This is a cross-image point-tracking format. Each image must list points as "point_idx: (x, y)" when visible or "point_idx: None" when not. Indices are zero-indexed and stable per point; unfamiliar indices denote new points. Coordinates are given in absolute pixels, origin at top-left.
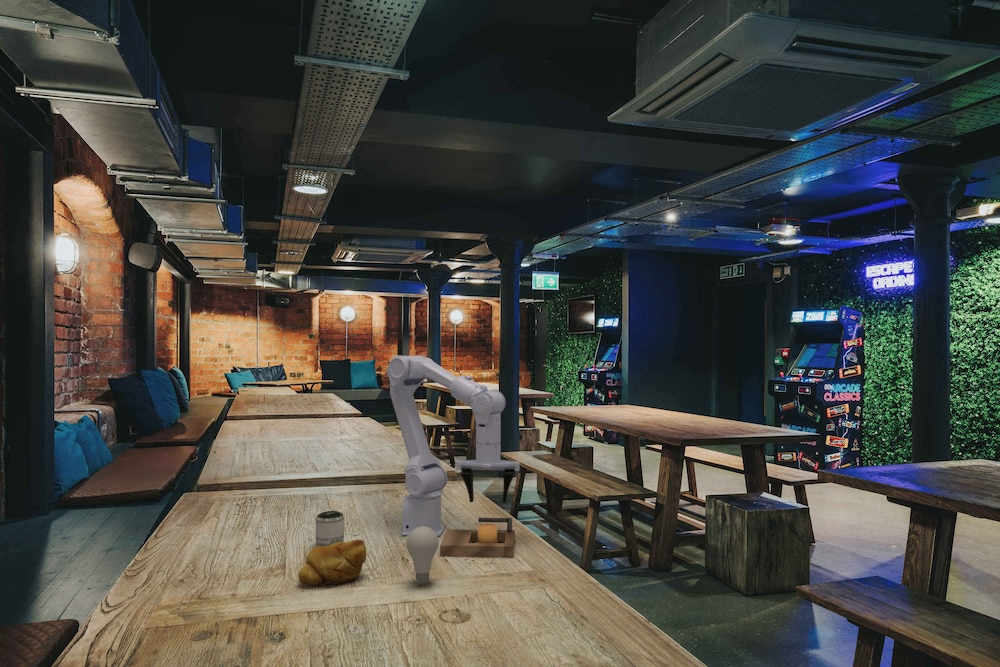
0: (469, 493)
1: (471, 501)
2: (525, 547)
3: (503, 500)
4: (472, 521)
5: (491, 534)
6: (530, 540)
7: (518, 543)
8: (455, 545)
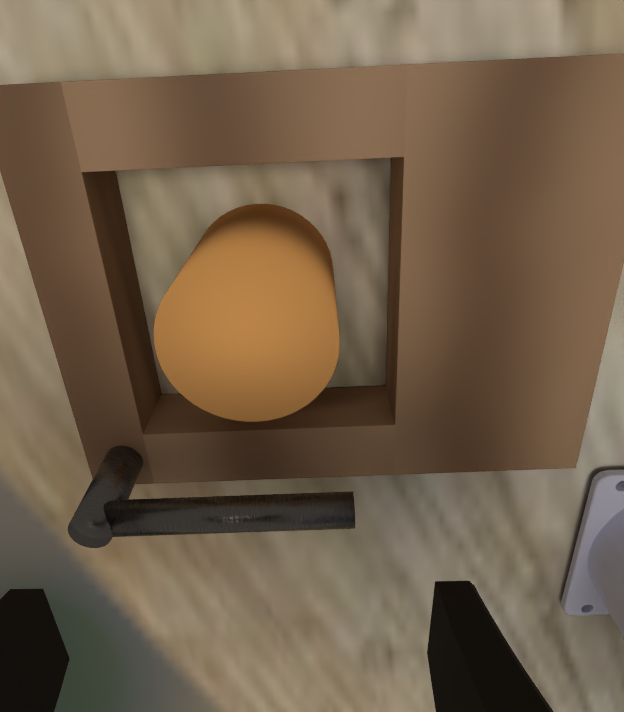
0: (516, 683)
1: (452, 586)
2: (11, 326)
3: (16, 609)
4: (408, 682)
5: (201, 254)
6: (23, 451)
7: None
8: (521, 66)
